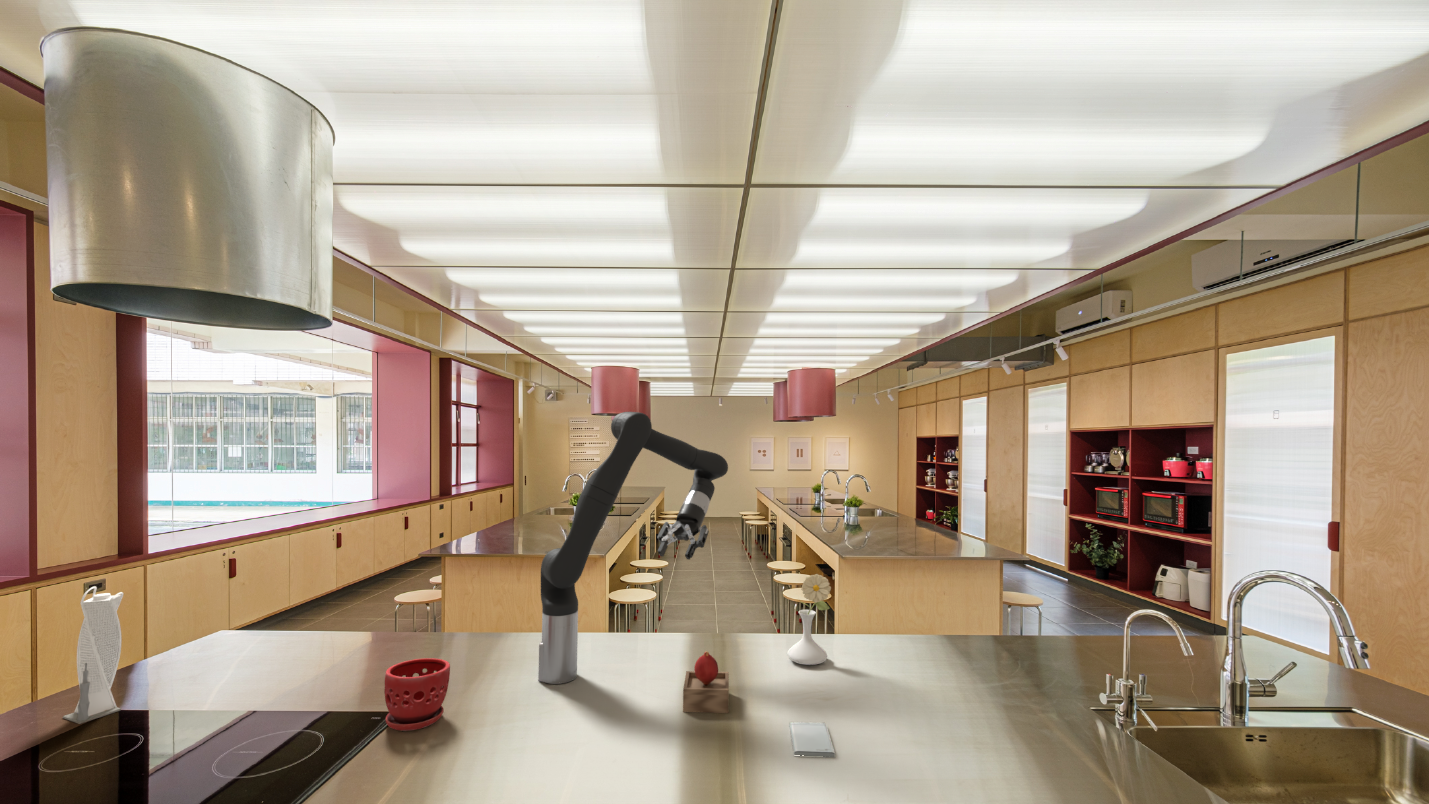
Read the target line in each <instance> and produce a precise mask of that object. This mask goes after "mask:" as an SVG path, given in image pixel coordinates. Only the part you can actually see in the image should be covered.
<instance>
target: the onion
mask: <svg viewBox="0 0 1429 804" xmlns="http://www.w3.org/2000/svg"><path fill="white" fill-rule="evenodd" d="M693 671H695V675H696V677H697V678H698V679H699V680H700V681H701V682H702V683H703V684H704V685H708V684H710V683H711V682H712V681H713V680H714V679H715V678H716V677H717V675H718V672H719V665H718V662H717V660H716V659H715V658H714V656H712V655H711V654H710V653H709V651H704V653H703V654H702V655H701V656H699V657H698V658H697V660H696V662H695V663H694V670H693Z"/></svg>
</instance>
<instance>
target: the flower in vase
mask: <svg viewBox="0 0 1429 804" xmlns="http://www.w3.org/2000/svg"><path fill="white" fill-rule="evenodd" d="M830 585H831V583H830V582H829V579H828V578H827V577H824V576H823V575H821V574H818V573H816V574H811V575H810V576H808V577H807V576H806V577H805V579H804V580H803V583H802V585H801V591H802V594H803V597H804V598H805V599H806V600H808V601H812V602H813V605H811V607H810V609H800V610H799V611H798V614H799V615H800V617H801V621H802V629H803V630H802V637H801V639H800V640H799V641H797V642H796V643H795V644H793V645H792V646H791V647H790V648H789V649H788V650H787V653H786V656H787V657H788V659H789V660H791V662H794V663H797V664H799V665H806V666H814V665H815V666H816V665H819V664H822V663H824V662H826V661H827V658H828V654H827V652H826V651H825V650H824V648H823V647H821V645H819V644H818V643H817V642H816V641H815V640H814V639H813V636H812V623H813V619H814V617H815V615H816V614H817V612H816V611H815V610H813V607H815V606H816V608H817V610H819V611H827V610H829V609H831V608H830V606H829V605H828V604H827V603H826V602H825V600H827V599H828V595H830V593H831V589H832V587H831V586H830ZM798 601H799V602H800V603H801V604H804V605H805V606H807V607H809V604H807V603H805V602H803V601H801V600H800V599H798Z"/></svg>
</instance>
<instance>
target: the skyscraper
mask: <svg viewBox="0 0 1429 804" xmlns="http://www.w3.org/2000/svg"><path fill="white" fill-rule="evenodd" d="M97 589H98V587H97V586H95V585H94V586H92V587H90V588H89V589H87V590H86V591H85V592H84V594H83V595H82V597H81V600H80V603H79V604H80V608H81V611H82V613H83V620H82V623H81V627H80V630H79V634H78V639H77V647H76V672H77V679H78V685H79V693H80V694H79V699H78V702H77V705H76V706H75V709H74V712H72V713H69V714H66V715H63V716H62V719H65V720H67V721H70V722H73V723H76V724H79V725H81V724H85V723H87V722H90V721H93V720H95V719H98V718H99V719H100V718H102V717H105V716H108V715H111V714H114V713H116V712H120V711H121V707H118V706H117V704H116V701H115V698H114V696H113V692H112V690H111V689H112V686H113V683H114V680H115V677H116V673H117V671H118V666H119V662H120V657H121V652H122V640H123V639H122V638H123V637H122V629H121V621H120V619H119V616H118V612H117V611H119V610H118V609H119V606H120V605H121V602H122V600H123V597H124V594H125V593H124V592H122V591H120V592H117V593H116V594H114V595H111V593H110V592H105V593H97ZM91 590H93V592H92V597H90V598H88V599H86V600H85V598H86V597H87V594H88V593H89V592H90V591H91Z"/></svg>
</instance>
